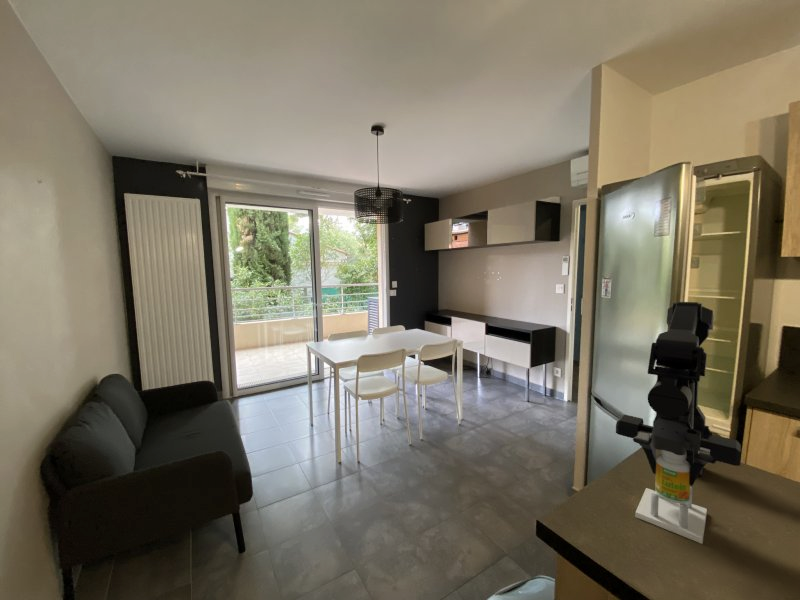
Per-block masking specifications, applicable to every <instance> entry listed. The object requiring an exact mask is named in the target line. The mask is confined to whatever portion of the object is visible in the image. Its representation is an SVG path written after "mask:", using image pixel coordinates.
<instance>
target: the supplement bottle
mask: <svg viewBox="0 0 800 600" xmlns="http://www.w3.org/2000/svg"><path fill="white" fill-rule="evenodd" d="M686 458H687V454H685V455H676V454H674V453H672V452H668V451H665V450H660V454H658V455H656V474H655V479H654V480H655V482H654V483H655V484H654V486H655V487H654V488H655V490H654V491H656V493H657V494H658V495H659V496H661V497H662V498H664V499H666V500H668V501H670V502H674V503H679V504H681V503H682V504H684V503H688V502H689V498H690V487H691V485H690V475H691V474H690V473H691V466H690V464H689V463H688V462H687V461H686Z"/></svg>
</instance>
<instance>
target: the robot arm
mask: <svg viewBox="0 0 800 600" xmlns="http://www.w3.org/2000/svg"><path fill="white" fill-rule="evenodd" d="M666 325H667V327H669V328H668V329H667V331H664V332H661V333H659V334H658V336H657V338H656V340H655V342H652V343H651V347H650V355H649V359H648V360H649V361H648V365H647V366H648V367H647V374H648V375H653V376H657V377H656V382H655V384H654V385H653V386H652V388H650V390H649V392H648V393H647V402H648V405H649V406H650V409H652V410H653V411H654V412H655V417H654V420H653V421H652V426H651V425H648V424H644V419H643V418H642V417H638V416H633V415H629V414H623V415H621V416H620V417H619V419H617V421H616V424H615V434H617V435H618V436H619V435H620V436H623V437H627V438H631V439H632V441H633V442H634V443H635V444H638V445H639V446H640V447H641V448H642V449H643V451H644V454H645V456H646V458H647V461H648V464H649V466H650V469H651V471H652V474H654V475H656V458H657V450H659V451H661V450H665V451H668V452H672V453H674V454H676V455H685V454H687V458H686V461H687V462H688V463H689V464H690V466H691V473H690V487H693V486H694V484H695V482H696V481H697V478H698V477H702V475H703V470H704V467H705V466H706V465H708V464H709V463H710V464H713V465H714V464H717V462H719V463H724V464H728V465H731V466H735V467H736V466H737V467H740V466H741V457H742V455H741V450H742V447H741V443H740V442H739V441H738V440H737V439H733V438H728V437H725V436H719V435H715V434H713V432H712V431H711V429H710V426H708V425H706V418H707V417H706V415H704V414H705V413H704V412H703V411H702V410H701V408H700V406H699V405H698V404H699V382H701V377H706V370H707V369H706V367H707V359H708V358H707V356H708V354H707V353H706V352H705V348H703V346H702V344H703V343H705V341H706V340H707V339H708V338H709V336H710V331H713V330H714V311H713V310H712V309H710V308H707V307H705V306H703V303H700V302H698V301H695V302H694V301H676V302H673V305H672V306H671V307H669V308H667V313H666Z"/></svg>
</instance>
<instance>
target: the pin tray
mask: <svg viewBox="0 0 800 600" xmlns="http://www.w3.org/2000/svg"><path fill="white" fill-rule="evenodd" d="M707 510H708V509H707V508H705V507H703V506H699V505H697V504H693V486H690V498H689V502H688V503H684V504H682V503H681V504H679V503H674V502H670V501H668V500H666V499H664V498H662V497H661V496H659V495H658V494H657V493H656V491H655V490H653V489H650V488H647V487H646V488H645V490H644V491H643V494H642V496H641V499H640V501H639V504H638V506H637V508H636V510H635V515H634V516H635V518H636V519H639V520H642V521H644V522H647V523H650V524H652V525H654V526H657V527H659V528H661V529H664V530H667V531H669V532H672V533H674V534H677V535H679V536H682V537H684V538H687V539H689V540H692V541H695V542H696V543H699V544H701V545H703V543H704V535H705V530H706V529H705V527H706V522H707V514H708V511H707Z"/></svg>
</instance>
